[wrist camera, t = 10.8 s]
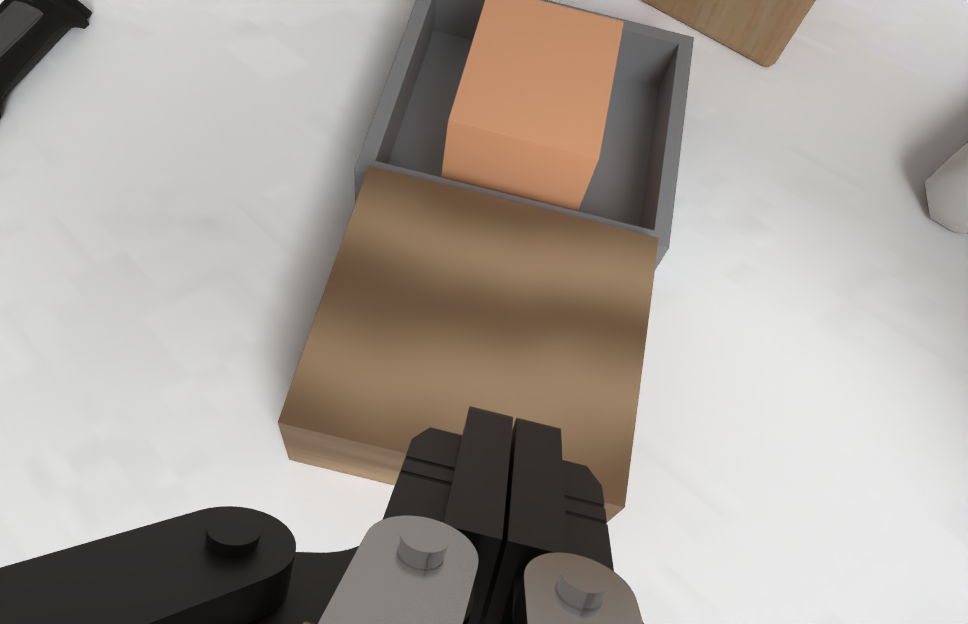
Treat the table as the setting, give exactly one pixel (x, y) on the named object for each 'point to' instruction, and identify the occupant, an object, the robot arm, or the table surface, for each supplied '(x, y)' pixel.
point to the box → (627, 134)
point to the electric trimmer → (33, 34)
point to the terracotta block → (533, 101)
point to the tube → (950, 192)
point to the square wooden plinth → (472, 331)
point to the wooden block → (742, 23)
